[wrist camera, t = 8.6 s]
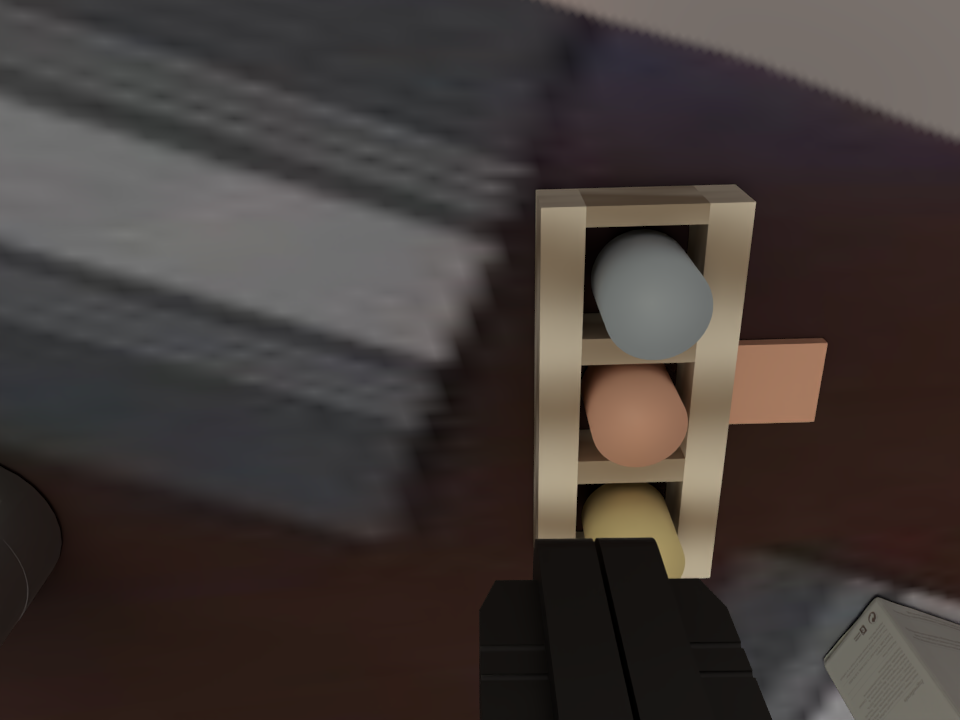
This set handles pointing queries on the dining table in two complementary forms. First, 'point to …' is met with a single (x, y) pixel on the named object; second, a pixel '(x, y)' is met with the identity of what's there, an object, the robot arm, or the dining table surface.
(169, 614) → the dining table surface
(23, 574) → the robot arm
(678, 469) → the button panel
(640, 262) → the slate-grey button
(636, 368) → the terracotta button
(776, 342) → the tile
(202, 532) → the dining table surface
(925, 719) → the skincare box
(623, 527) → the ochre button
